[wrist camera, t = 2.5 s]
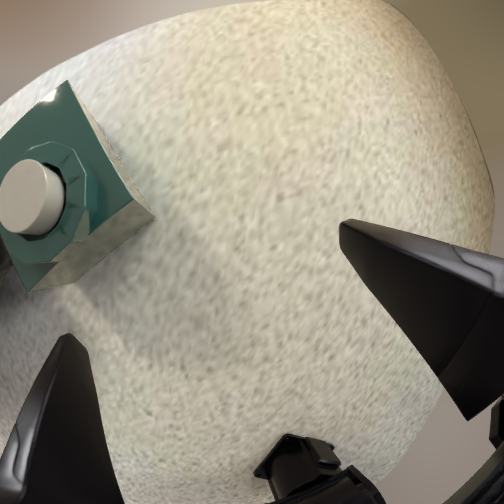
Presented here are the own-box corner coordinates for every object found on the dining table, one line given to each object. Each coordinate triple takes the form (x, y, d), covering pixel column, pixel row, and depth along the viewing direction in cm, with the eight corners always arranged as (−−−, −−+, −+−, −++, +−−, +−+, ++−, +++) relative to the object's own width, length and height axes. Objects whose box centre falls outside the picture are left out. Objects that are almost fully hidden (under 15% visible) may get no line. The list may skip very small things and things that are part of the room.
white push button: (75, 207, 12) (57, 199, 10) (31, 249, 11) (10, 248, 9) (51, 156, 11) (33, 144, 9) (10, 198, 11) (-10, 191, 9)
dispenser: (157, 220, 21) (127, 194, 12) (75, 285, 19) (12, 300, 10) (97, 121, 20) (58, 65, 11) (25, 183, 18) (-34, 156, 9)
